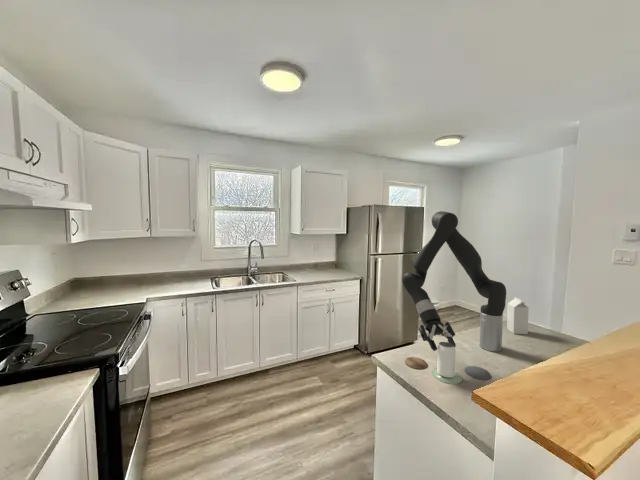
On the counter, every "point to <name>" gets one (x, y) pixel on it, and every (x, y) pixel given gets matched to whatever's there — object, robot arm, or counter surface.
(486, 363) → the counter surface
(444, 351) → the can
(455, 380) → the sage coaster
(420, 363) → the walnut coaster
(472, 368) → the charcoal coaster
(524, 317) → the milk carton
